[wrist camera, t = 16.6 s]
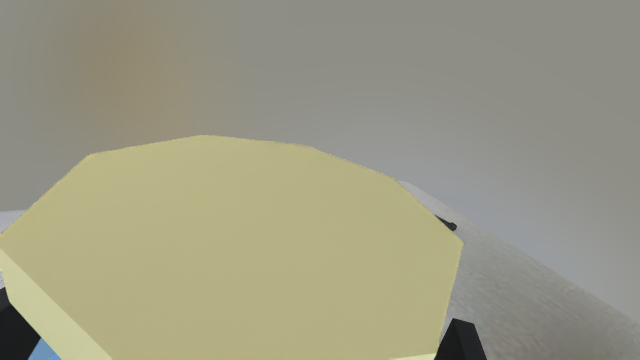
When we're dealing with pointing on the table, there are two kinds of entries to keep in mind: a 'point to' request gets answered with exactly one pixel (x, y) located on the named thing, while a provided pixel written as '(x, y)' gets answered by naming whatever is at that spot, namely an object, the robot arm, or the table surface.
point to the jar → (229, 258)
